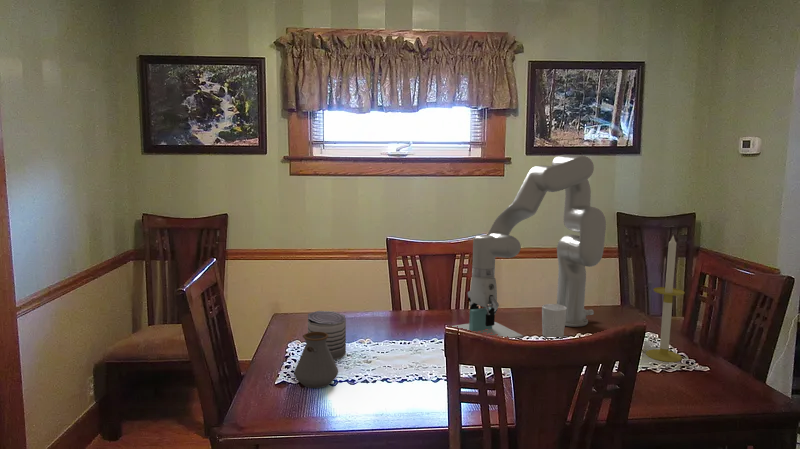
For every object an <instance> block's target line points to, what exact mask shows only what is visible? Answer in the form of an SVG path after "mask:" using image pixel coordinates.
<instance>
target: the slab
mask: <svg viewBox="0 0 800 449" xmlns="http://www.w3.org/2000/svg"><path fill="white" fill-rule="evenodd" d="M490 309H491V308H489V311H490ZM486 314H487V312H486V309H485V308H484V307H481V308H479V309H471V310H470V309H469V318H468V319H469V322H468V324H469V330H471V331H479V330H485V329H492V326H486V325H485V323H486Z"/></svg>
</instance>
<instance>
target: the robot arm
mask: <svg viewBox="0 0 800 449" xmlns="http://www.w3.org/2000/svg"><path fill="white" fill-rule="evenodd" d="M594 166H595V165H594V162H593V161H592V159H591V158H590V157H588V156H586V155H579V154H576V155H575V154H561V155H557V156H555V157H554V158H553V160H552V162H551V165H542V164H541V165H535V166H533V167H531V168H530V169H529V171H528V172H527V174H526V177H525V178H524V180H523V182H522V183H521V185H520V188H519V189H518V192H517V193H516V195H515V197H514V199H513V201H512V202H511V203H510V204H509V205H508V206H507V207H506V208H505V209H504V210H502V212H501V213H500V214H499V215H498V216H497V217H496V219H495V220H494V222H493V224H492V225H491V227H490V229H489V230H488V233H487V235H486V234H484V235H483V234H481V235H475V236H474V237H473V240H472V241H473V242H472V266H471V267H472V271H471V281H470V290H469V291H467V297H468V300H467V301H468V302H469V311H470V310H471V309H479V306H480V307H481V308H485V309H486V312H487V314H486V323H485V325H486V326H493V325H494V322H496V321H495V315H496V314H497V312H498V308H499V306H500V304H499V302H498V290H497V281H496V280H497V279H496V277H495V275H496V274H495V273H496V272H495V271H496V258H502V259H503V258H504V259H511V258H515V257H516V256H518V255H519V253H520V251H521V249H522V248H521V242H520V241H519V239H518V238H516V237H514V236H512V235H510V233H511V232H512V230H513V229H514V228H515V226H517V225H518V224H520V223H521V222H523V221H524V220H528V219H529V218H532V217H533V216H534V215H535V214H536V213H537V212H538V209H539V207H540V206H541V203H542V202H543V200H544V198H545V196H546V194H547V192H549V193H555V192H560V191H563V190H564V191H565V192H564V194H565V198H564V209H563V224H564V227H565V228H566V229H568V230H570V231H573V232H575V233H579V235H578V234H566V235H563V236H562V237H561V238H560V239H559V240H558V242H557V245H556V246H557V247H556V257H557V262H558V263H557V264H558V269H557V270H558V271H557V272H558V274H557V275H558V276H557V289H556V290H557V294H556V304H558V305H563V306H565V307H566V308H567V310H566V320H565V327H572V328H573V327H575V328H576V327H577V328H579V327H585V326H587V325H588V324H589V319H588V318H587V316H592V315H594V313H595V311H594V310H593V309H586V308H585V301H586V299H585V298H586V284H587V269H586V267H587V268H590V267H595V266H597V265H598V264H599V263H600V262H601V260H602V259H603V255H604V249H605V238H606V227H607V222H606V220H607V219H606V217H605V215H604V213H603V211H602V210H600V209H599V208H597V207H595V206H591V193H592V190H591V184H590V182H589V180H588V179H589V178H590V177H592V175H593V173H594V168H595V167H594ZM489 308H491V309H490V311H489Z"/></svg>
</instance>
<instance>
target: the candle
mask: <svg viewBox="0 0 800 449" xmlns="http://www.w3.org/2000/svg"><path fill="white" fill-rule="evenodd" d="M667 248H668V249H667V259H666V260H667V261H666V273H665V274H666V275H665V286H660V287H659V286H658V287H654V288H653V292H654V293H657V294H660V295H663V301H662V302H663V303H662V313H661V314H662V315H661V325H660V328H661V329H660V341H659V348H657V349H656V348H654V349H648V350H647V351H646V352H645V355H646V356H647V357H648V358H651V359H653V360H655V361H660V362H664V363H665V362H667V363H677V362H681V361H682V355H680V354H679V353H678V352H677V353H676V352H674V351H670V350H669V349H670V336H671V326H672V325H671V324H672V314H673V311H672V310H673V300H674V297H677V296H683V295H685V291H683V290H682V289H678V288H675V287H674V280H675V279H674V277H675V265H676V253H677V241H676V239H675V236H674V235H672V236H671V239H670V241H669V242H668V247H667Z"/></svg>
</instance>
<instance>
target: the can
mask: <svg viewBox="0 0 800 449" xmlns="http://www.w3.org/2000/svg"><path fill="white" fill-rule="evenodd" d="M346 322H347V319H346V315H345V314H341V313H339V312H336V311H333V310H332V311H330V310H328V311H327V310H316V311H313V312H309V313H307V333H310V332H325V333H327V334H328V338H327V340H326V344H327V346H328V348H329V350H330V353H331V355H332V357H333V359H334V361H335V360H338V359H342V358H343V357H344V356H346V353H347V351H346V350H347V343H346V342H347V339H346V338H347V336H346V335H347V331H346V330H347V328H346V326H347V325H346V324H347V323H346Z"/></svg>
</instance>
